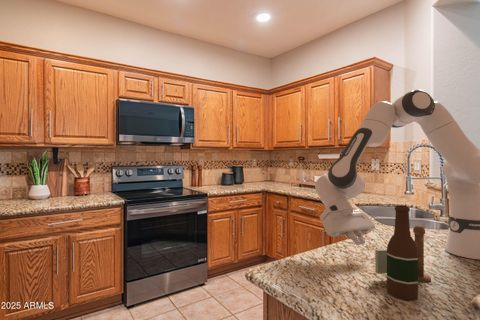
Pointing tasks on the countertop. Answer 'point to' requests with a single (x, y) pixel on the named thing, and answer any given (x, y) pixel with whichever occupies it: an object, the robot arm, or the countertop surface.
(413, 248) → the beer bottle
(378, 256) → the flap
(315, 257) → the countertop surface
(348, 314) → the countertop surface
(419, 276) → the post
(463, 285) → the countertop surface
